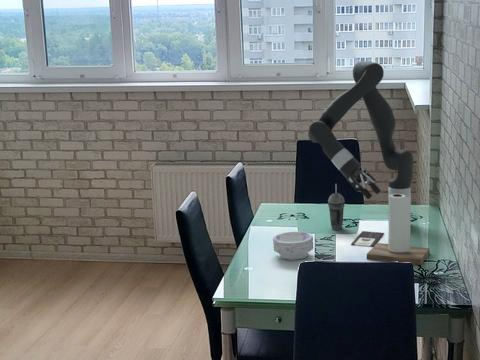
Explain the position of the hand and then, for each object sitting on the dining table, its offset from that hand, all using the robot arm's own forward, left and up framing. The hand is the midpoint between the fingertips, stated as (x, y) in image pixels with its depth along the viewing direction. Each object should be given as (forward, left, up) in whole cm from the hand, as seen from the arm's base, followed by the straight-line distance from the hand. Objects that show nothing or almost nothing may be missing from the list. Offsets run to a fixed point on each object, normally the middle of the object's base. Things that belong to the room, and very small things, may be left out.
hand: (374, 195), depth 264 cm
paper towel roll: (+1, +9, -21) cm, 23 cm away
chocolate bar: (-16, -8, -23) cm, 29 cm away
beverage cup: (-26, -25, -23) cm, 43 cm away
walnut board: (+1, +9, -23) cm, 24 cm away
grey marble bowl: (+14, -28, -23) cm, 39 cm away
